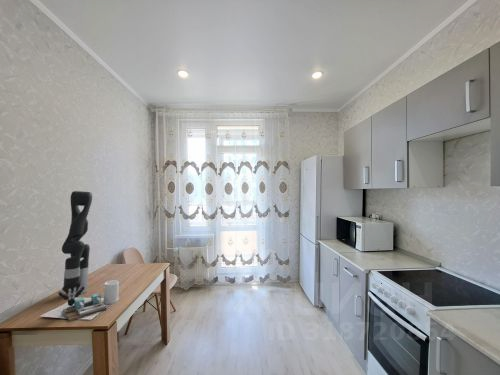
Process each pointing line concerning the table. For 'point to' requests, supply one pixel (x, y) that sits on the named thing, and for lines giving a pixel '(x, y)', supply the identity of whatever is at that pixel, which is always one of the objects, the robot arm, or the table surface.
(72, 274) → the robot arm
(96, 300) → the fixed leg
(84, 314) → the board
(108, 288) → the mug
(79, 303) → the sliding leg
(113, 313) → the table surface
